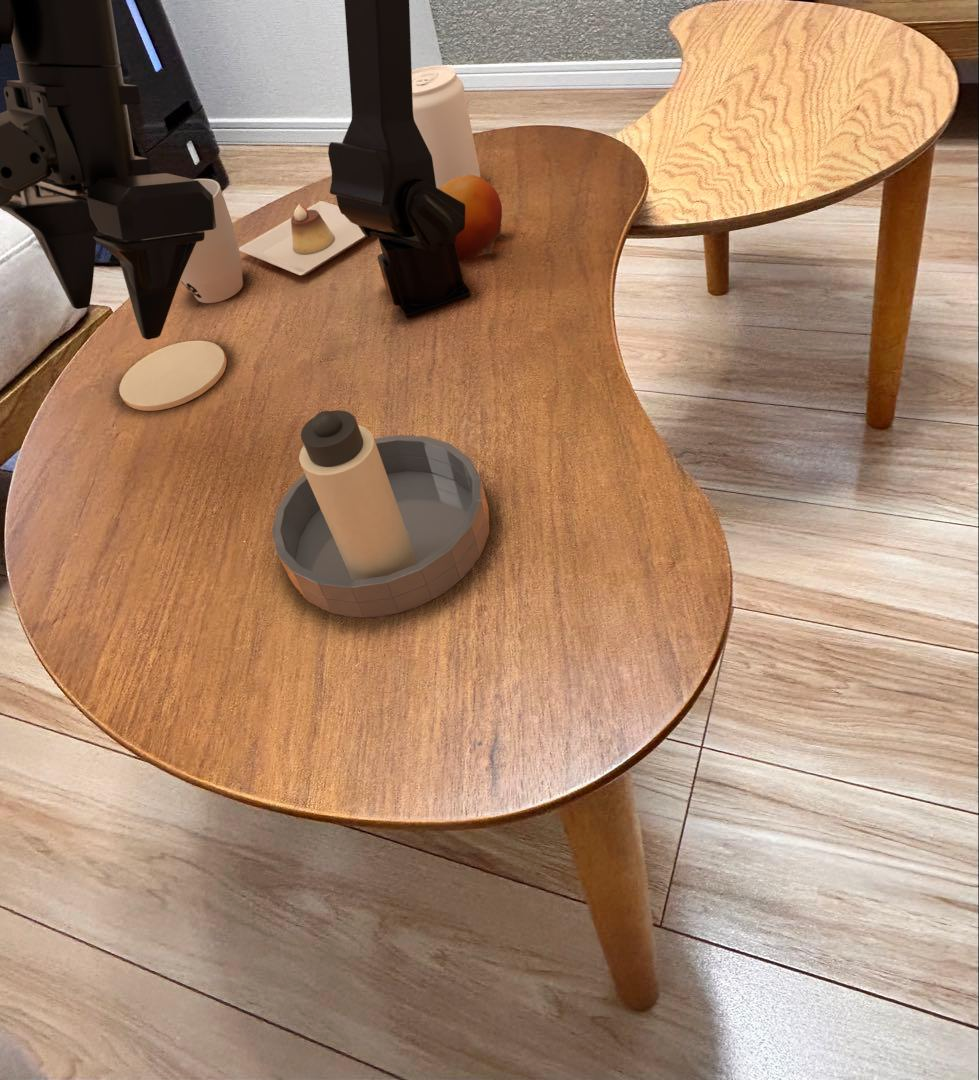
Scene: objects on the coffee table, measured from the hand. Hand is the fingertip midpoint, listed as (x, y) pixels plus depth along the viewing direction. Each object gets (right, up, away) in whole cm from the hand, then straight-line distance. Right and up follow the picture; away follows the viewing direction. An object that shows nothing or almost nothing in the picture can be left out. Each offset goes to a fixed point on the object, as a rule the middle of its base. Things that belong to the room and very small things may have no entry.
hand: (115, 322), depth 60 cm
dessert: (+7, +17, +34) cm, 39 cm away
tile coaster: (-3, 0, +20) cm, 21 cm away
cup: (-2, +11, +31) cm, 33 cm away
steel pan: (+19, -15, 0) cm, 24 cm away
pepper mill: (+19, -17, -3) cm, 26 cm away
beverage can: (+21, +24, +38) cm, 49 cm away
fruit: (+24, +14, +28) cm, 39 cm away
